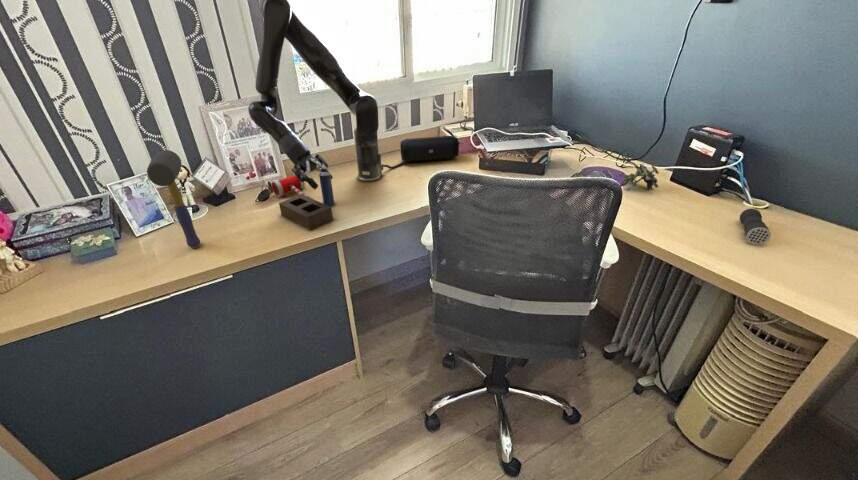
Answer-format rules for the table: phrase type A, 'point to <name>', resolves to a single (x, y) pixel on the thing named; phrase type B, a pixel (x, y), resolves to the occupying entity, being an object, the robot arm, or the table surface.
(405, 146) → the portable speaker
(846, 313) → the table surface
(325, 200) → the handle
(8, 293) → the table surface
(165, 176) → the rubber mallet
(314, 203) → the holder
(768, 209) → the table surface
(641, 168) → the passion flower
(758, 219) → the flashlight
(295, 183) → the toy hammer
